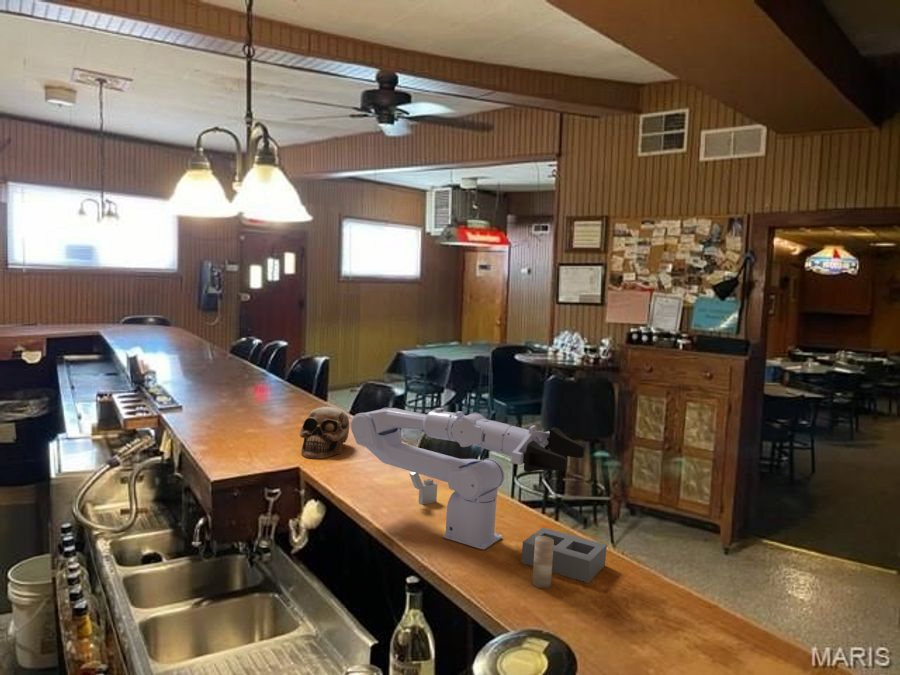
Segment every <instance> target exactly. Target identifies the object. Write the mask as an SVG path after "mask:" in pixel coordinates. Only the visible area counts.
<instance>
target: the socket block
mask: <svg viewBox="0 0 900 675" xmlns="http://www.w3.org/2000/svg"><path fill="white" fill-rule="evenodd" d="M538 536H547V537H550V538H552V539H553V540H554V547H553V561H552V573H553V574H557V575H560V576H563V577H567V578H570V579H574V580H576V579H577V581H581V582H583V581H584V582H583V583H587V584H589V583H590V582H591V581H592V580H593V579H594V578H595V577H596V576H597V574H599V572H600V571H602V570H603V569H604V567H605V566H606V560H607V559H606V558H607V547H608V546H607V544H605V543H603V542H602V543H601V542H598V541H594V540H591V539H586V538H583V537H579V536H577V535H573V534H568V533H564V532H561V531H557V530H554V529H550V528H546V527H541V528H539V529H538V530H537V531H536V532H535V533H532V535H530V536H529V537H528V538H526V539H525V540H524V541H522V549H521V550H522V551H521V562H520V563H521V564H524V565H528V566H531V567H533V564H534V550H535V538H536V537H538Z"/></svg>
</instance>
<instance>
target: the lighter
mask: <svg viewBox="0 0 900 675" xmlns="http://www.w3.org/2000/svg"><path fill="white" fill-rule="evenodd" d="M408 475H409V477H410V480H411V482H412V484H413V487H414V489H417V490H418V504H420V505H427V504H433V503H436V502H437V500H438V499H437V498H438V483H437V482H435V481H434V479H433V478H429V479H424V480H423V482H422V480H421V477H420V474H418V473H415V472H411V471H409V474H408Z"/></svg>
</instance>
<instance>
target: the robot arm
mask: <svg viewBox="0 0 900 675" xmlns="http://www.w3.org/2000/svg"><path fill="white" fill-rule="evenodd" d="M350 428H351V429H350V430H351V433H352V436H353V438H354V440H355V443H356V444H357V445H359V446H362V447H363V448H366V449H367V450H368V451H370V453H371V454H373V455H374V456H375V457H376V458H377V459H378V460H379V461H381V463H383V464H385V465H389V466H392V467H395V468H398V469H401V470H402V469H403V470H405V471H409V472H415V473H418V474H419V475H422V476H425V477H428V478H430V479H436V480H438V481H441V482H445V483H447V484H448V488H449V489H450V490H452V491H453V492H452V493H451V495H450V496H449V498H448V501H447V506H446V519H445V520H446V522H445V533H444V534H443V536H442V537H443V538H444V539H447V540H450V541H453V542H456V543H459V544H463V545H466V546H470V547H472V548H473V547H474V548H475V549H480V550H486V549H487V548H489V547H490V546H491V545H493V544H494V543H496V542H498V541H499V540H500V539H502V538H503V535H502V534H500V533H496V532H495V531H496V530H495V529H496V515H497V514H496V511H497V497H498V491H499V490H498V489H499V488H500V487H501V486H502V484H503V483H504V480H505V471H504V468H503V466H502V465H501V464H500V462H498V461H497V460H496V459H494V458H485V459H484V458H483V459H477V458H458V457H455V456H451V455H447V454H443V453H440V452H436V451H432V450H428V449H425V448H422V447H421V448H420V447H419V446H418V447H417V446H414V445H411V444H407V443H403V436H402V432H401V429H409V430H410V429H411V430H419V431H424V433H425V435H426V436H427V437H429V438H432V439H439V440H443V441H451V442H456V443H458V444H459V446H460V447H461V448H466V447H467V448H468V447H471V446H472V445H474V446H476V447H479V448H482V449H485V450H488V451H492V452H494V453H495V452H496V453H499V454H501V455H505V456H509V457H511V458H510V463H512V464H515V465H519V466H521V465H523V471H524V472H525V473H532V472H537V471H562V472H563V471H567V469H568V468H567V466H568V458H567V457H570V458H575V459H576V458H577V459H579V458H580V459H583V458H584V457H585V450H586V446H585V445H582V444H581V443H579V442H578V441H576V440H573V439H572V438H570V437H568V436H567V435H566V434H565V433H563V432H562V431H561V429H560V428H558V427H552V428H550V429H549V430H548V431H540V430H538V426H537V425H535V424H533V425H531V426H529V428H528V429H527V428H523V427H520V426H519V427H518V426H515V425H512V424H509V423H505V422H504V423H503V422H500V421H497V420H490V419H488V418H486V416H485V415H483V414H481V413H479V412H471V413H470V414H467V415H466V414H464V411H459V410H458V411H455V412H451V411H445V408H444V407H436V408H435V409H433V410H431V411H429V412H428V413H427V414H425V413H421V412H420V413H419V412H415V411H410V410H404V409H401V408H397V407H391V408H389V407H383V408H381V409H376V410H372V411H367V412H359V413H356V414H355V415H354V416H353V417H352V419H351V422H350ZM545 447H547V448H548V449H547V448H545Z"/></svg>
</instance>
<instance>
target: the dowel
mask: <svg viewBox="0 0 900 675" xmlns="http://www.w3.org/2000/svg"><path fill="white" fill-rule="evenodd" d="M553 547H554V540H553V539H552V538H550V537H547V536H538V537H536V538H535V550H534V564H533V566H532V568H533V569H532V580H531V581H532V582H531V583H532V585H533V586H534V587H535V588H539V589H543V588H544V589H549V588H550V587H551V586H552V574H553V572H552V561H553Z"/></svg>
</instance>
